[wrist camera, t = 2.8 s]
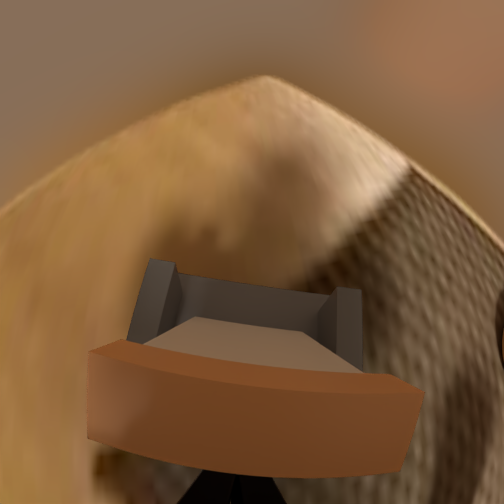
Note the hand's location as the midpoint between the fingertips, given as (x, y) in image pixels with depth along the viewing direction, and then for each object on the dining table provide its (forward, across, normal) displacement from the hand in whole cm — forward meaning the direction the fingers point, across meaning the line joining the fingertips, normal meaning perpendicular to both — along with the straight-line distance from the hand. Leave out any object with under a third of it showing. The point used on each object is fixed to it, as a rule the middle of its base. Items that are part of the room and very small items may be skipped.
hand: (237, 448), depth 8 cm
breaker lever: (+7, 0, 0) cm, 7 cm away
